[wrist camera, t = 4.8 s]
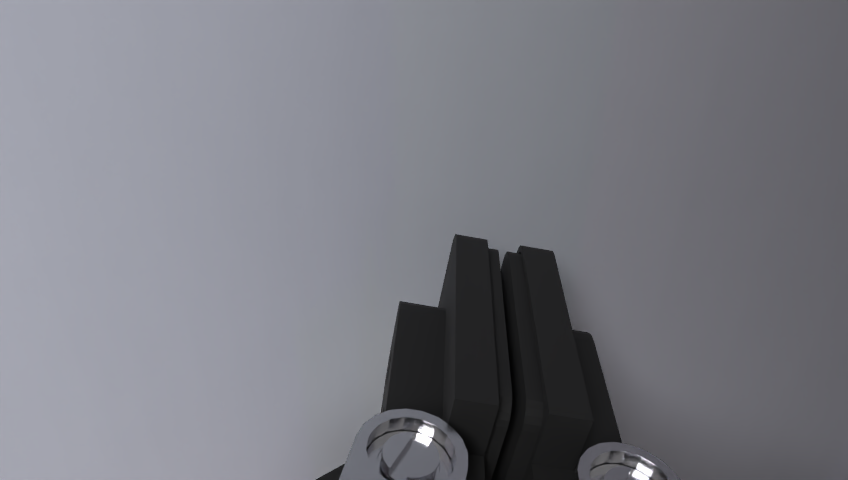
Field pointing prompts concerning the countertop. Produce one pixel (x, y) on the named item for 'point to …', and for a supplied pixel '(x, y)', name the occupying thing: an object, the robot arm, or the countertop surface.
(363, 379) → the countertop surface
